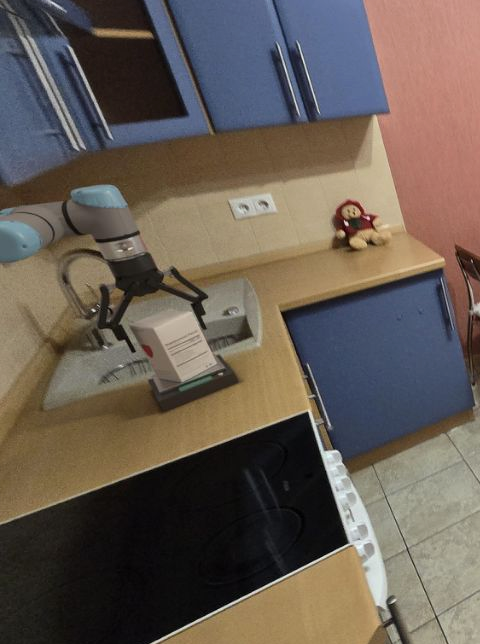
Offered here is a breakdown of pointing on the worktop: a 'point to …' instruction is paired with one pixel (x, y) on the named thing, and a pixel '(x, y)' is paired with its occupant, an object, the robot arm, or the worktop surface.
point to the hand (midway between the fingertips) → (170, 339)
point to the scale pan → (171, 385)
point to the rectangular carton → (173, 345)
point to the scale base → (195, 388)
